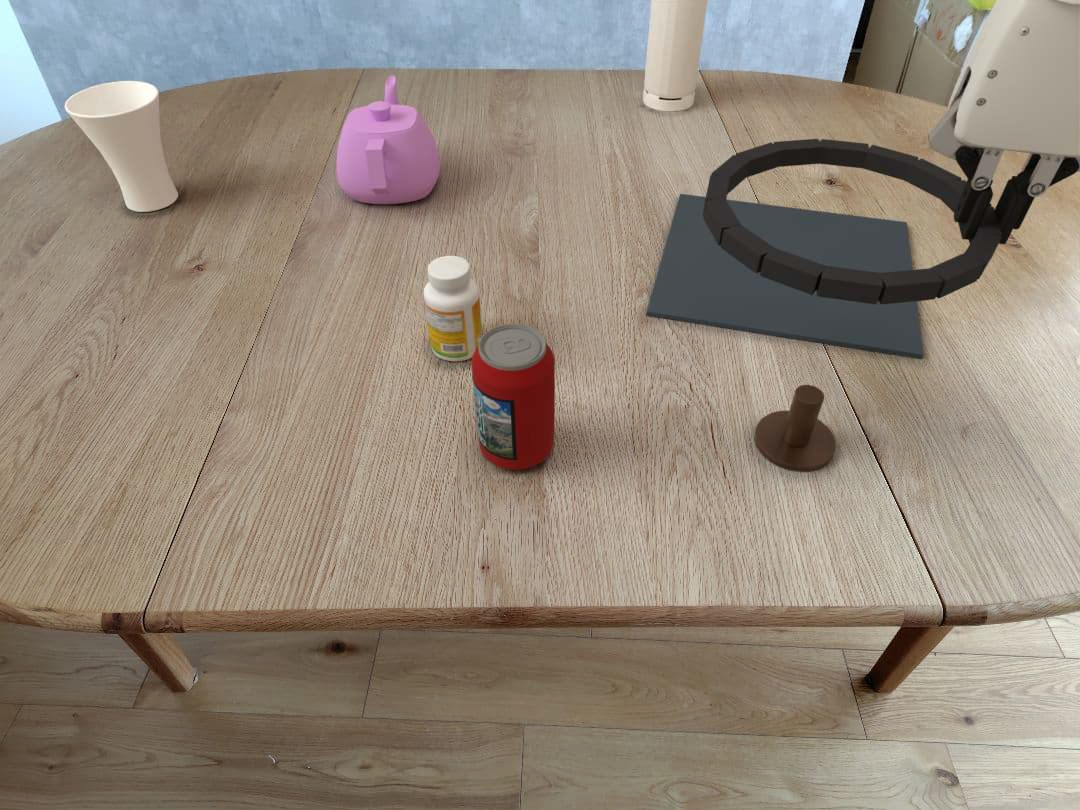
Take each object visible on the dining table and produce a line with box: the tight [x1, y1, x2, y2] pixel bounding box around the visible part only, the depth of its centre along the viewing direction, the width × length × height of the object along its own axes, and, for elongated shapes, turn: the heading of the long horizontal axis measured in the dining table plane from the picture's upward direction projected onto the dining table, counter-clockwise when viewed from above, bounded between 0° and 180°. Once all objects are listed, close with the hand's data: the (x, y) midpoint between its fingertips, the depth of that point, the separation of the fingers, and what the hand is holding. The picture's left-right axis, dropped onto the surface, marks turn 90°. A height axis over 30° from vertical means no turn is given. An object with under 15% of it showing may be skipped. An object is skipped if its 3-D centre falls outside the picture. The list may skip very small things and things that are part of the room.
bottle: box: [642, 0, 708, 112], centre depth 113 cm, size 8×8×28 cm
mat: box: [645, 193, 925, 360], centre depth 89 cm, size 28×26×1 cm
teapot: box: [336, 75, 441, 205], centre depth 100 cm, size 13×20×11 cm
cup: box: [64, 80, 179, 213], centre depth 96 cm, size 10×10×14 cm
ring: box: [703, 138, 1002, 304], centre depth 60 cm, size 22×22×2 cm
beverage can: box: [470, 323, 556, 470], centre depth 65 cm, size 7×7×12 cm
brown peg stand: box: [754, 384, 837, 473], centre depth 67 cm, size 7×7×6 cm
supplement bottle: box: [423, 255, 484, 362], centre depth 76 cm, size 5×5×10 cm
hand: (981, 230), depth 58 cm, fingers closed on ring, 1 cm apart
